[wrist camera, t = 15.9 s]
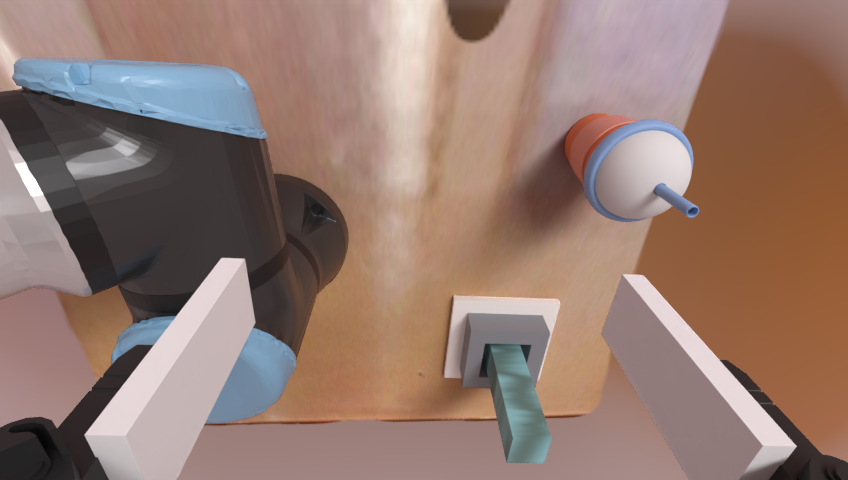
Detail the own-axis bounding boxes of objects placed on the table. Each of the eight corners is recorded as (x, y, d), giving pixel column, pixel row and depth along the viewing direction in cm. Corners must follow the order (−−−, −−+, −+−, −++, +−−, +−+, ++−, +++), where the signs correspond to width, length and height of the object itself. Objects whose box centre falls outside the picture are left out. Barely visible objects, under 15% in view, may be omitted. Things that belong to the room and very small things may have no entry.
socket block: (443, 372, 60) (446, 397, 56) (453, 295, 54) (457, 317, 50) (537, 374, 61) (546, 399, 57) (558, 299, 55) (569, 321, 51)
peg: (482, 353, 57) (506, 462, 43) (486, 331, 56) (513, 438, 42) (511, 354, 58) (543, 463, 44) (516, 332, 56) (551, 438, 42)
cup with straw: (621, 183, 47) (728, 268, 31) (543, 180, 46) (611, 265, 31) (645, 100, 43) (785, 151, 27) (559, 96, 42) (650, 145, 26)
